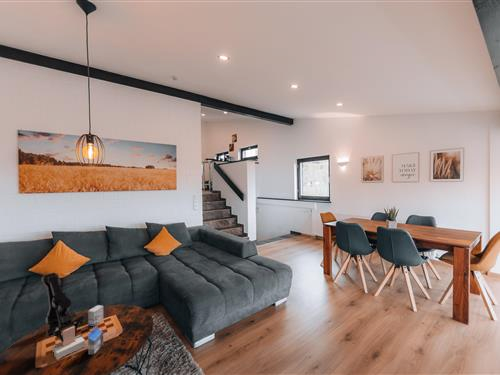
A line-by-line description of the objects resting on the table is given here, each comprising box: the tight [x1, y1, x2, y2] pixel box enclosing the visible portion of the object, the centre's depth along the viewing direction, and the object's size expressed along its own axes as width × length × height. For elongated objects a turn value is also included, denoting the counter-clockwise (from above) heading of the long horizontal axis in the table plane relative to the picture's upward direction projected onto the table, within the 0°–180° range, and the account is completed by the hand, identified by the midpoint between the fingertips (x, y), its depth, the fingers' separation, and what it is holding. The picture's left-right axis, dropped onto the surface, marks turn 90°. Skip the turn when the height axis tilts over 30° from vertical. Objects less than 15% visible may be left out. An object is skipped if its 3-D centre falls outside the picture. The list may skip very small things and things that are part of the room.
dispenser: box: [52, 334, 86, 361], centre depth 144 cm, size 8×14×5 cm, turn 143°
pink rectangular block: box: [61, 325, 75, 347], centre depth 144 cm, size 2×6×13 cm, turn 143°
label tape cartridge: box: [87, 325, 104, 355], centre depth 144 cm, size 9×4×12 cm, turn 1°
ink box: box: [87, 304, 104, 326], centre depth 170 cm, size 9×5×12 cm, turn 168°
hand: (69, 339), depth 143 cm, fingers closed on pink rectangular block, 6 cm apart
